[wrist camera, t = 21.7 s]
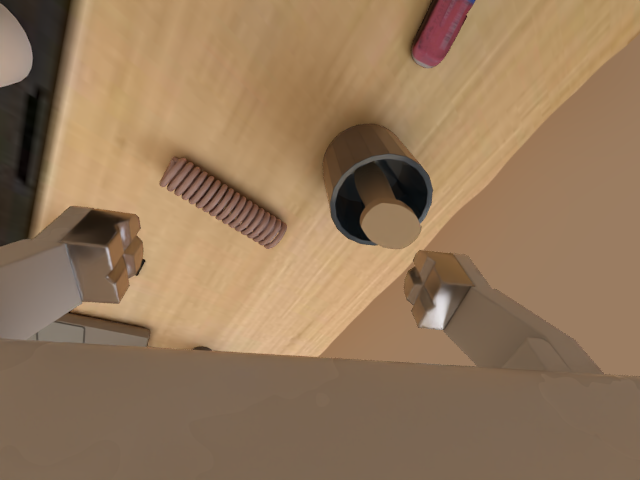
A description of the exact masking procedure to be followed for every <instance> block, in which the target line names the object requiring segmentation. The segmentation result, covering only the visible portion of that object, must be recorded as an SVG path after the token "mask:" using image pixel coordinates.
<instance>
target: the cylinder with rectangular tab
mask: <svg viewBox="0 0 640 480" xmlns="http://www.w3.org/2000/svg"><path fill="white" fill-rule="evenodd" d="M32 61H33V55H32V49H31V45H30V42H29V40H28V38H27V35H26V33H25V31H24V30H23V28H22V27H21V25H20V24H19V22H18V20H17V19H16V18H15V17H14V16H13V15H12V14H11V13H10V11H9V10H8V9H7V8H6V7H5V6H3V5H2V4H1V3H0V87H3V86H7V85H10V84H14V83H17V82H20V81H22V80H23V79H24V78H25V77H27V76H28V74H29V72H30V70H31V68H32Z"/></svg>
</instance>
